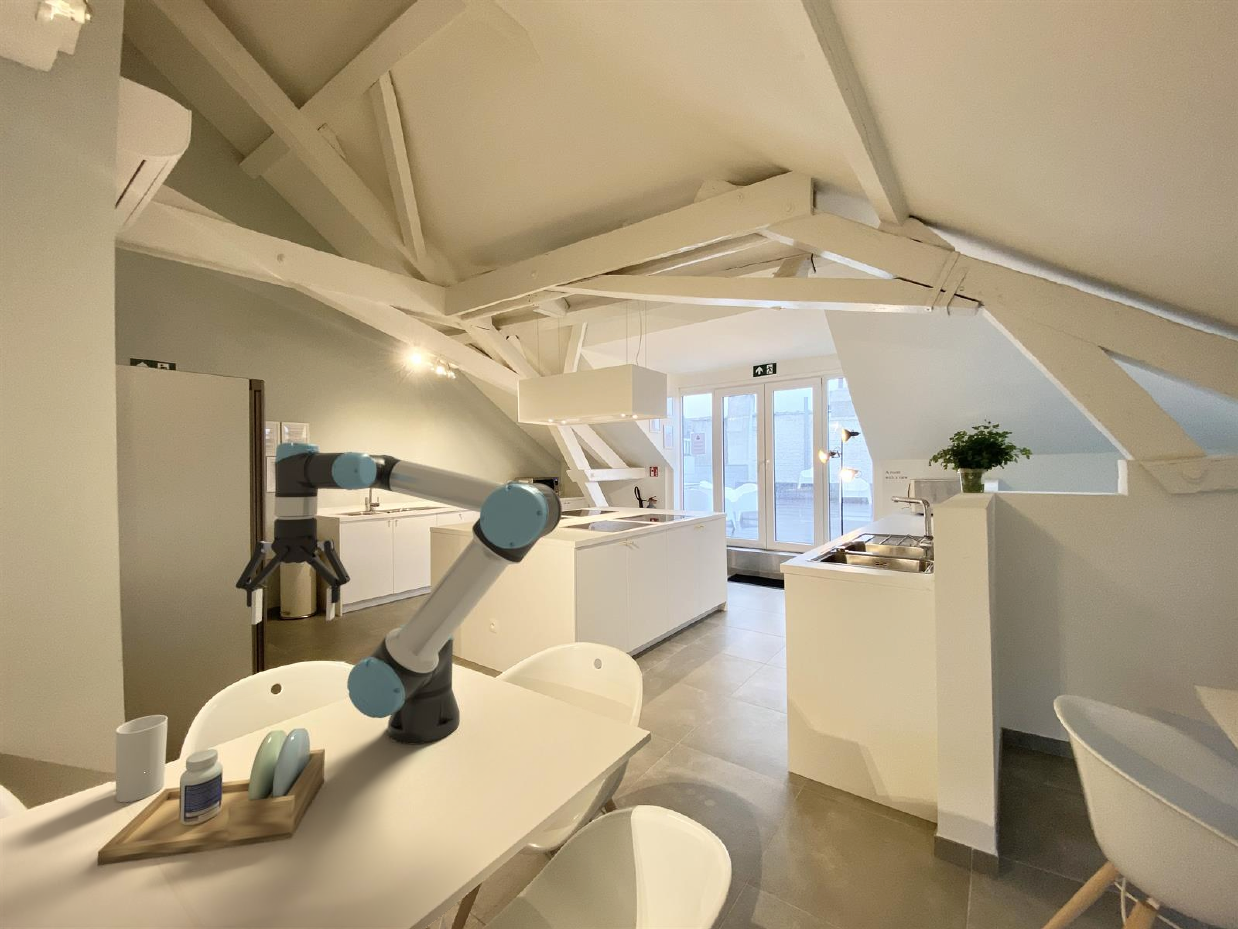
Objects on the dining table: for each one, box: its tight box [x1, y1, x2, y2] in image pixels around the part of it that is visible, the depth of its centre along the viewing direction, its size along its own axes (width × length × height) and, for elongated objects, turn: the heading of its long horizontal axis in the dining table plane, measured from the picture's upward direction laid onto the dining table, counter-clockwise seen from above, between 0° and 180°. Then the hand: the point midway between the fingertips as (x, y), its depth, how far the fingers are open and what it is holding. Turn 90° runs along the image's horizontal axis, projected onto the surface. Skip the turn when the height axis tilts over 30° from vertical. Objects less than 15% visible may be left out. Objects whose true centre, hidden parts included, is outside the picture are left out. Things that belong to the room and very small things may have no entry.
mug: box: [115, 714, 168, 803], centre depth 92 cm, size 10×7×12 cm, turn 16°
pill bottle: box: [179, 748, 224, 825], centre depth 82 cm, size 5×5×10 cm
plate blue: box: [273, 727, 311, 798], centre depth 85 cm, size 1×12×12 cm, turn 13°
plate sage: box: [248, 729, 288, 801], centre depth 85 cm, size 1×12×12 cm, turn 13°
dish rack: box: [97, 748, 326, 867], centre depth 83 cm, size 25×15×6 cm, turn 103°
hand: (294, 620), depth 104 cm, fingers open, 13 cm apart
